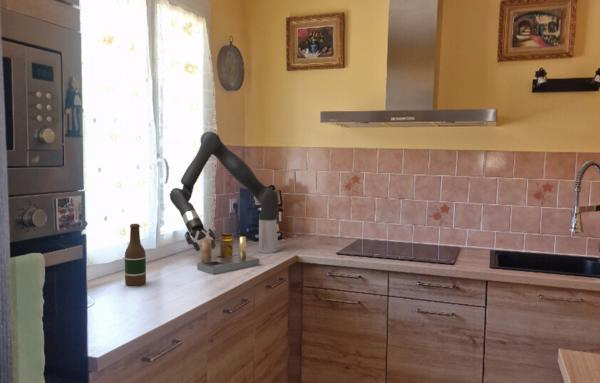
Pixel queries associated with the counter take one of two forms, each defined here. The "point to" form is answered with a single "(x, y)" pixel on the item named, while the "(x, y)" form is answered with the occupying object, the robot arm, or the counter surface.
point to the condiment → (226, 246)
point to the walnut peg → (206, 249)
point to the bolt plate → (229, 261)
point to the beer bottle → (135, 259)
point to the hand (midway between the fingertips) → (206, 249)
